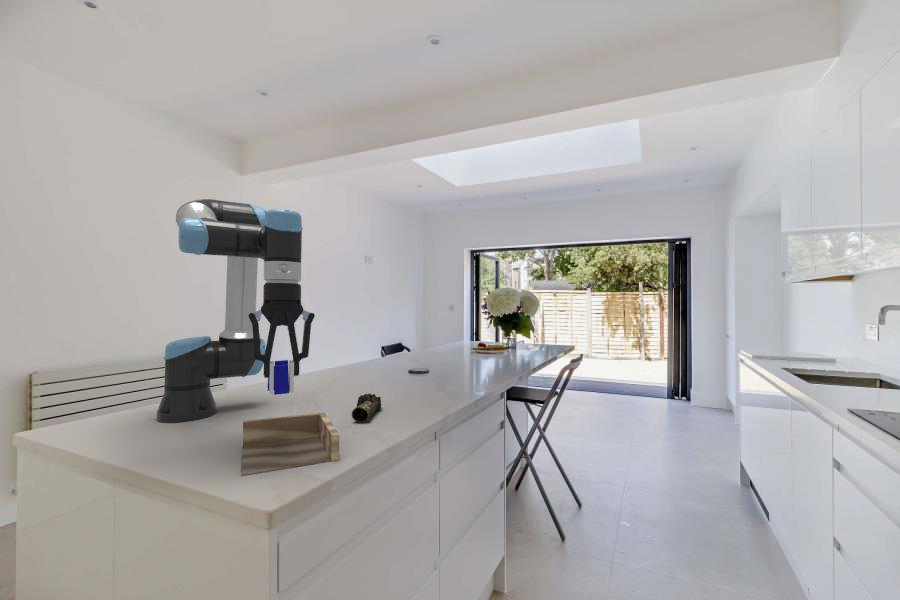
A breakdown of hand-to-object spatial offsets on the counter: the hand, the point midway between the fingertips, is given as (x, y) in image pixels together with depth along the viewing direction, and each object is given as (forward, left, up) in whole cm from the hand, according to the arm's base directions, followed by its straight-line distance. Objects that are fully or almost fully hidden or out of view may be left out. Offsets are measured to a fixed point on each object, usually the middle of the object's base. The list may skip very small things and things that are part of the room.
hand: (281, 391), depth 91 cm
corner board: (-2, +1, -14) cm, 15 cm away
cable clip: (-6, 0, -1) cm, 6 cm away
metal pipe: (-21, +23, -17) cm, 35 cm away
